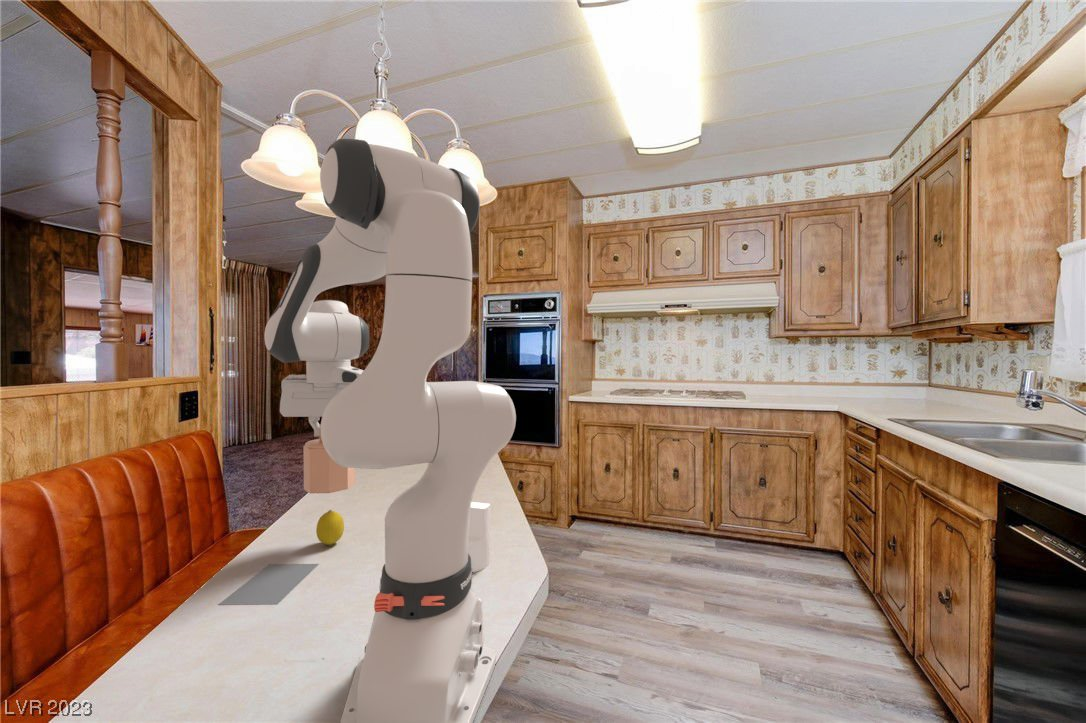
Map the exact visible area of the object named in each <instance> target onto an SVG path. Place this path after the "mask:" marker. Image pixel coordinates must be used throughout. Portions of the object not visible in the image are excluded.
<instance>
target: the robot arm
mask: <svg viewBox="0 0 1086 723" xmlns="http://www.w3.org/2000/svg"><path fill="white" fill-rule="evenodd" d="M319 178H320V179H319V180H320V187H321V188H320V189H321V191H322V194H323V199H324V202H325V205H326V206H327V207H328V208H329V210H330V211H331V212H332V213H333V214H334V216H336V217H335V221H334V225H333V226H332V228H331V230H330V231H329V232H328V234H327V235H326V236H325V237H324V238H323V239H322V240H320V241H319V242H317V243H315V244H312V245H310V246H307V247H306V248H305V250H304V251H303V253H302V254H301V256H300V258H299V259H298V261H297V263H296V264H295V267H294V268H293V272H292V273H291V276H290V278H289V280H288V282H287V285H286V286H285V288H284V291H283V294H282V296H281V298H280V300H279V302H278V304H277V306H276V308H275V310H274V311H273V312H272V314H271V315H270V316H269V319H268V320H267V323H266V325H265V328H264V335H263V336H264V343H265V344H264V345H265V348H266V351H267V352H268V353H269V354H270V355H271V356H273V357H274V358H275V359H277V360H278V361H280V362H282V363H283V364H285V363H298V362H302V361H305V363H306V367H305V368H306V371H305V373H306V374H289V375H288V374H287V376H285V377H284V378H283V379H282V380H281V386H280V387H281V388H280V389H281V396H280V403H279V413H280V414H281V415H282V417H285V418H291V417H293V418H294V417H295V418H296V417H299V418H300V417H301V418H306V417H308V423H309V424H310V426H311V427H312V429H313V436H314V438H319V425H320V424H321V438H322V442H323V445H324V448H325V450H326V451H327V453H328V455H329V456H330V457H331V458H332V459H333V460H334V461H335V462H336V463H337V464H338V465H340V466H341V467H349V468H355V469H362V470H363V469H365V470H366V469H367V470H385V469H390V468H392V469H393V468H398V467H406V466H413V465H414V466H415V465H421V464H427V467H426V470H425V471H424V473H423V474H422V476H421V477H420V479H419V480H417V482H416V483H414V484H413V485H412V486H410V487H409V488H406V489H405V490H404V491H402V492H400V494H398V495H397V496H396V497H395V499H394V500H393V501H392V502H391V503H390V505H389V506H388V509H387V511H386V514H385V516H384V565H383V566H382V569H381V576H380V578H379V579H380V580H379V587H378V588H379V592H378V593H377V594H376V596H375V599H374V605H373V608H374V611H375V612H374V615H373V619H372V622H371V627H370V631H369V635H368V640H367V643H366V645H365V647H364V653H362V654H361V655H360V657H359V659H358V662H357V665H356V668H355V672H354V675H353V678H352V682H351V684H350V685H351V686H350V688H349V691H348V694H347V698H346V702H345V706H344V709H343V712H342V716H341V718H340V721H339V723H473V722H474V721H475V718H476V715H477V713H478V711H479V707H480V705H481V704H482V701H483V698H484V695H485V693H486V690H487V687H488V686H489V682H490V681H491V678H492V675H493V673H494V670H495V667H496V665H497V662H496V659H497V654H496V651H495V650H494V649H492V648H490V647H489V646H486V645H485V634H484V633H485V632H484V611H483V610H484V609H483V608H484V607H483V600H482V599H481V598H480V597H479V596H478V595H477V594H476V593H475V592H474V590H473V588H472V583H473V581H472V577H473V573H472V565H471V557H470V555H469V554H468V533H469V517H470V507H471V502H473V501H472V500H473V498H474V494H475V491H476V489H477V486H478V483H479V481H480V479H481V477H482V475H483V474H484V472H485V470H486V468H487V466H489V464H490V462H492V460H493V459H494V458H495V456H496V455H497V454H498V453H499V452H500V451H502V449H503V448H505V447H506V446H507V444H509V442H510V440H511V439H512V437H513V434H514V432H515V429H516V422H517V414H516V408H515V405H514V402H513V399H512V398H511V396H510V394H509V393H508V392H507V391H506V389H504V388H503V387H502V386H501V385H496V384H491V383H488V382H481V381H476V380H458V381H457V380H455V381H427V380H428V379H427V378H428V376H429V373H430V371H431V369H432V368H433V366H434V365H435V364H436V362H438V361H439V360H441V359H443V358H445V357H447V356H448V355H451V354H453V353H455V352H457V351H458V350H460V349H461V347H462V346H464V344H465V343H466V342H467V341H468V339H469V337H470V334H471V328H472V327H471V325H472V297H473V295H472V294H473V255H472V252H473V251H472V241H471V232H472V231H473V229H474V228H475V227H476V224H477V222H478V219H479V215H480V210H481V209H480V208H481V207H480V206H481V202H480V200H481V199H480V195H479V191H478V187H477V185H476V183H475V182H474V180H472V178H470V177H469V176H467V174H465V173H463V172H461V171H459V170H458V169H455V168H453V167H452V168H451V167H450V168H449V167H445V166H443V165H441V164H438V163H436V162H434V161H431V160H429V159H427V158H423V157H420V156H416V154H414V153H412V152H409V151H406V150H402V149H397V148H393V147H387V146H383V145H377V144H373V143H372V144H371V143H368V141H367V140H363V139H357V138H338V139H337V140H335V141H334V142H332V144H330V145H329V146H328V148H327V150H326V153H325V156H324V158H323V160H322V163H321V167H320V174H319ZM384 276H385V296H384V297H385V299H384V312H383V322H382V332H381V335H380V339H379V343H378V345H377V349H376V350H375V353H374V354H373V356H372V358H371V360H370V361H369V363H368V364H367V366H366V367H365V369H364V370H363V369H362V368H361V369H360V368H359V367H354V366H352V365H351V363H352V362H351V360H355V359H359V358H361V357H362V356H363V355H365V354H366V352H367V351H368V350H369V348H370V327H369V325H368V324H367V323H366V322H365V320H364V319H363V318H362V317H361V316H358V315H354V314H352V313H351V312H350V311H349V307H348V305H347V304H346V303H344V302H343V301H340V300H334V299H322V300H321V299H320V300H316V297H318V295H319V294H321V293H322V292H325V291H326V290H330V289H334V288H337V287H340V286H341V287H343V286H345V285H354V284H361V283H369V282H373V281H376V280H378V279H380V278H383V277H384ZM315 300H316V301H315ZM320 418H321V421H320ZM319 421H320V423H319ZM495 664H496V665H495Z"/></svg>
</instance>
